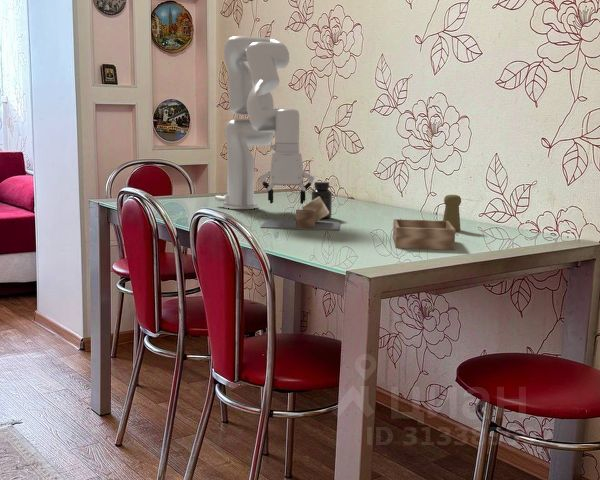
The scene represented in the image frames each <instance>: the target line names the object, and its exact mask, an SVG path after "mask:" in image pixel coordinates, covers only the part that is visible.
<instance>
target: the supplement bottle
mask: <svg viewBox="0 0 600 480" xmlns="http://www.w3.org/2000/svg"><path fill="white" fill-rule="evenodd" d="M329 188H330V181H329V182H327V181H315V182H314V189H313V190H312V191H311V195H310V196H311V198H310V199H311V201H312V200H314V199H315V198H317V197H319V196H320V197H321V199H322V201H323V202H324V204H325V206H326V207H327V209H328V211H329V214H328V215H327V216H325V217H323V218H322V219H321V220H330V219H331V218H332V212H333V211H332V208H333V207H332V204H333V192H332V191H331V190H330V189H329Z"/></svg>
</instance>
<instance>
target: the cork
mask: <svg viewBox="0 0 600 480" xmlns="http://www.w3.org/2000/svg"><path fill="white" fill-rule="evenodd" d="M443 203H444V204H445V206H444V212H443V217H442V221H449V222H450V224H451V225H452V226H453V227H454V228H455V233H456V232H461V230H462V229H461V219H460V218H461V217H460V216H461V215H460V205H461V203H462V198H461V196H460V195H458V194H447V195H445V196H444V199H443Z"/></svg>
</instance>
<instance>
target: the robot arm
mask: <svg viewBox="0 0 600 480" xmlns="http://www.w3.org/2000/svg"><path fill="white" fill-rule="evenodd" d="M223 58H224V63H225V66H226V70H227V74H228V75H227V76H228V105H229V111H230V113H232V114H233V115H238V116H239V115H240V116H248V118H234V119H232V120H230V121H228V122H227V124H225V128H224V134H225V135H224V136H225V141H226V142H225V143H226V148H227V149H226V152H227V153H226V154H227V193H226V194H224V195H215V197H214V198H215V202H224V203H223V204H222V208H225V209H228V208H229V210H255V209H258V207H259V205H258V203H255V202H254V201H255V200H254V199H255V191H254V190H255V158H254V155H253V153H252V152H251V150H250V148H249V147H263V146H264V147H265V146H269V145H270V150H274V152H273V153H272V154H271V155H272V156H271V160H270V161H271V163H270V171H268V172H266V173H264V174H261V175H259V177H258V178H259V181H260V182H261V184H262V186H263V187H264V188H265V190H267V200H268V201H269V204H273V203H274V190H273V188H274V187H275V186H298V188H300V190H301V191H300V194H299V195H300V197H299V200H300V201H299V202H300V204H301V205H303V204H304V202H305V201H306V191H307V190H308V189H309V188H310V187H311V186H312V184H313V182H314V180H315V177H314V176H313V175H311V174H309V173H307V172H306V171H304V166H303V156H302V153H300V112H299V110H297V109H295V108H294V109H293V108H291V109H290V108H275V106H274V99H273V98H274V97H273V95H272V93H271V92H273V91H274V90H275V89H277V88H278V86H279V85H280V77H279V73H278V71H277V69H285V68H286V67H288V64H289V63H290V52H289V50H288V47H287V46H286V45H285V43H283V42H281V41H278V40H276V39H274V38H270V37H259V36H258V37H257V36H249V35H247V36H246V35H237V36H231V37H229V38H228V39H226V41H225V44H224V48H223ZM246 62H247V63H246ZM247 64H248V65H247ZM274 135H275V137H274ZM274 138H275V140H274ZM273 140H274V142H275V143H274V144H271V143H272V142H273ZM268 177H269V178H270V180H269V181H270V184H269V183H268V182H267V181H266V178H268ZM304 178H306V179H308V181H307V183H306V184H305V185H304V183H303V182H304ZM254 208H255V209H254Z"/></svg>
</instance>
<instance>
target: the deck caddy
mask: <svg viewBox="0 0 600 480" xmlns="http://www.w3.org/2000/svg"><path fill="white" fill-rule="evenodd" d="M392 225H393V227H392V239H393V244H394V247H395V249H415V248H416V249H418V250H419V249H420V250H422V249H423V250H444V249H446V251H447V249H448V251H453V250H454V251H455V241H456V232H455V228H454V227H453V226H452V225H451V224H450V222H449V221H443V220H433V219H432V220H430V219H429V220H428V219H403V218H402V219H401V218H400V219H399V218H398V219H397V218H396V219H395V218H393V223H392Z"/></svg>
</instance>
